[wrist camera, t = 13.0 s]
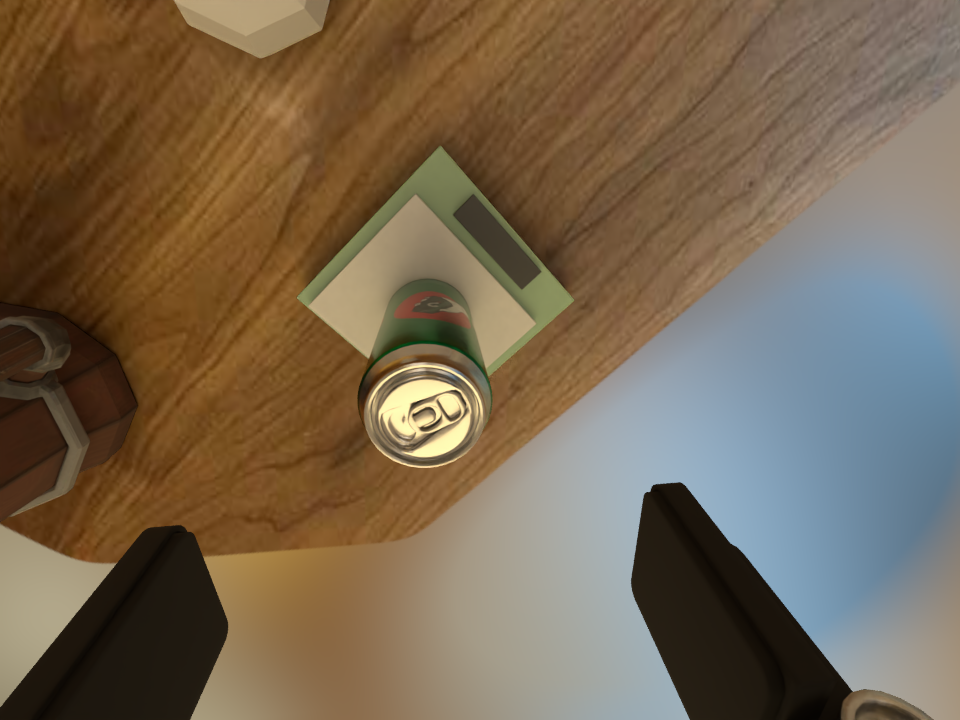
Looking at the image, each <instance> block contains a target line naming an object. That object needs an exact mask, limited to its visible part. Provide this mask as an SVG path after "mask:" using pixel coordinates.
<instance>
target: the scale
mask: <svg viewBox="0 0 960 720" xmlns="http://www.w3.org/2000/svg"><path fill="white" fill-rule="evenodd" d="M427 278H428V279H437V280H441V281H443V282H446V283H448V284H450V285H452V286H453V287H454V288H456V289H457V290H458V291H459V292H460V293H461V294H462V295H463V297H464V298H465V300H466V301H467V304H468V306H469V309H470V312H471V316H472V320H473V323H474V327H475V331H476V334H477V338H478V342H479V345H480V349H481V353H482V356H483V360H484V363H485V367H486V371H487V374H488V377H489V376H490V375H491V374H492V373H493V372H494V371H495V370H497V369H498V368H499V367H500V366H501V365H502V364H503V363H504V362H506V361H507V360H508V359H509V358H510V357H511V356H512V355H513V354H515V353H516V352H517V351H518V350H519V349H520V348H521V347H522V346H524V345H525V344H526V343H527V342H528V341H529V340H530V339H532V338H533V337H534V336H535V335H536V334H537V333H538V332H539V331H541V330H542V329H543V328H544V327H545V326H546V325H547V324H548V323H550V322H551V321H552V320H553V319H554V318H555V317H556V316H557V315H559V314H560V313H561V312H562V311H563V310H564V309H565V308H567V307H568V306H569V305H570V304H571V303H572V302H573V301H574V299H573V298H572V296H571V295H570V294H569V293H568V292H567V291H566V289H565V288H564V287H563V286H562V285H561V284H560V283H559V281H558V280H557V279H556V278H555V277H554V276H553V275H552V273H551V272H550V271H549V270H548V269H547V268H546V266H545V265H544V264H543V263H542V262H541V261H540V260H539V258H538V257H537V256H536V255H535V254H534V253H533V251H532V250H531V249H530V248H529V247H528V246H527V245H526V243H525V242H524V241H523V240H522V239H521V238H520V236H519V235H518V234H517V233H516V232H515V231H514V230H513V228H512V227H511V226H510V225H509V224H508V223H507V221H506V220H505V219H504V218H503V217H502V216H501V215H500V213H499V212H498V211H497V210H496V209H495V208H494V206H493V205H492V204H491V203H490V202H489V201H488V200H487V198H486V197H485V196H484V195H483V194H482V193H481V191H480V190H479V189H478V188H477V187H476V186H475V185H474V183H473V182H472V181H471V180H470V179H469V178H468V176H467V175H466V174H465V173H464V172H463V171H462V170H461V168H460V167H459V166H458V165H457V164H456V163H455V161H454V160H453V159H452V158H451V157H450V156H449V155H448V153H447V152H446V151H445V150H444V149H443V148H442V146H439V147H438V148H437V149H436V150H435V151H434V152H433V153H432V154H431V155H430V156H429V157H428V158H427V159H426V161H425V162H424V163H423V164H422V165H421V166H420V167H419V168H418V169H417V170H416V171H415V172H414V173H413V174H412V175H411V176H410V177H409V179H408V180H407V181H406V182H405V183H404V184H403V185H402V186H401V187H400V188H399V189H398V190H397V191H396V192H395V193H394V194H393V195H392V197H391V198H390V199H389V200H388V201H387V202H386V203H385V204H384V205H383V206H382V207H381V208H380V209H379V210H378V211H377V212H376V213H375V214H374V216H373V217H372V218H371V219H370V220H369V221H368V222H367V223H366V224H365V225H364V226H363V227H362V228H361V229H360V230H359V231H358V232H357V234H356V235H355V236H354V237H353V238H352V239H351V240H350V241H349V242H348V243H347V244H346V245H345V246H344V247H343V248H342V249H341V250H340V252H339V253H338V254H337V255H336V256H335V257H334V258H333V259H332V260H331V261H330V262H329V263H328V264H327V265H326V266H325V267H324V268H323V269H322V271H321V272H320V273H319V274H318V275H317V276H316V277H315V278H314V279H313V280H312V281H311V282H310V283H309V284H308V285H307V286H306V287H305V289H304V290H303V291H302V292H301V293H300V294H299V295H298V296H297V299H298V300H300V301H301V302H302V303H303V304H304V305H305V306H307V307H308V308H309V309H310V310H311V311H312V312H314V313H315V314H316V315H317V316H318V317H320V318H321V319H322V320H323V321H324V322H325V323H327V324H328V325H329V326H330V327H331V328H332V329H334V330H335V331H336V332H337V333H338V334H340V335H341V336H342V337H343V338H344V339H345V340H347V341H348V342H349V343H350V344H351V345H352V346H354V347H355V348H356V349H357V350H358V351H360V352H361V353H362V354H363V355H364V356H365V357H367V358H368V359H369V357H370V354H371V351H372V348H373V346H374V343H375V340H376V337H377V334H378V331H379V328H380V326H381V323H382V320H383V317H384V314H385V311H386V308H387V306H388V303H389V301H390V299H391V297H392V296H393V295H394V294H395V292H396V291H397V290H398V289H400V288H401V287H402V286H404V285H405V284H407V283H409V282H412V281H414V280H418V279H427Z"/></svg>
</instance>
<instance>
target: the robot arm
mask: <svg viewBox="0 0 960 720" xmlns="http://www.w3.org/2000/svg"><path fill="white" fill-rule="evenodd" d="M631 586H632V592H633V595H634V598H635V600H636V602H637V605H638V607H639V609H640V611H641V614H642V615H643V618H644V620H645V622H646V625H647V627H648V629H649V631H650V633H651V636H652V638H653V640H654V642H655V644H656V646H657V648H658V651H659V653H660V655H661V657H662V660H663V662H664V664H665V666H666V668H667V671H668V673H669V675H670V677H671V679H672V682H673V684H674V686H675V688H676V690H677V692H678V695H679V697H680V699H681V701H682V703H683V705H684V708H685V710H686V712H687V714H688V716H689V719H690V720H933V719H932V718H931V717H930V716H928V715H927V714H926V713H924V712H923V711H922V710H920V709H919V708H917V707H915V706H913V705H911V704H910V703H908V702H906V701H904V700H902V699H901V698H898V697H896V696H893V695H890V694H887V693H884V692H882V691H875V690H867V689H863V690H859V691H855V692H853V691H852V690H851V689H850V688H849V686H848V685H847V684H846V683H845V681H844V680H843V679H842V678H841V676H840V675H839V674H838V672H837V671H836V670H835V669H834V667H833V666H832V665H831V664H830V663H829V661H828V660H827V659H826V657H825V656H824V655H823V654H822V652H821V651H820V650H819V648H818V647H817V646H816V645H815V644H814V642H813V641H812V640H811V639H810V637H809V636H808V635H807V633H806V632H805V631H804V630H803V628H802V627H801V626H800V624H799V623H798V622H797V621H796V619H795V618H794V617H793V616H792V614H791V613H790V612H789V611H788V609H787V608H786V607H785V606H784V604H783V603H782V602H781V600H780V599H779V598H778V597H777V595H776V594H775V593H774V592H773V590H772V589H771V588H770V587H769V585H768V584H767V583H766V582H765V580H764V579H763V578H762V576H761V575H760V574H759V573H758V571H757V570H756V569H755V568H754V566H753V565H752V564H751V563H750V561H749V560H748V559H747V558H746V556H745V555H744V554H743V553H742V552H741V551H740V550H739V549H738V548H737V547H736V546H734V545H732V544H730V542H729V541H728V540H727V539H726V537H725V536H724V535H723V534H722V532H721V531H720V530H719V528H718V527H717V526H716V525H715V523H714V522H713V521H712V519H711V518H710V517H709V515H708V514H707V513H706V512H705V510H704V509H703V508H702V507H701V505H700V504H699V503H698V501H697V500H696V499H695V497H694V496H693V495H692V494H691V492H690V491H689V490H688V489H687V488H686V486H685V485H683V484H682V483H680V482H679V483H667V484H656V485H653V486H652V488H651V491H650V492H646V493H645V494H644V498H643V504H642V511H641V518H640V524H639V532H638V538H637V545H636V552H635V558H634V565H633V571H632V578H631ZM227 633H228V621H227V618H226V615H225V613H224V610H223V607H222V605H221V602H220V600H219V597H218V595H217V592H216V589H215V587H214V584H213V582H212V579H211V576H210V574H209V571H208V569H207V566H206V564H205V561H204V558H203V556H202V553H201V551H200V548H199V545H198V543H197V540H196V538H195V536H194V534H193V533H192V532H187V530H186V529H185V527H183V526H182V525H176V526H164V527H153V528H148V529H146V530H145V531H144V532H142V533H141V534H140V536H139V537H138V538H137V539H136V541H135V542H134V543H133V544H132V546H131V547H130V548H129V549H128V550H127V552H126V553H125V554H124V555H123V557H122V558H121V559H120V560H119V562H118V563H117V564H116V565H115V567H114V568H113V569H112V570H111V572H110V573H109V574H108V575H107V576H106V578H105V579H104V580H103V581H102V583H101V584H100V585H99V586H98V587H97V589H96V590H95V591H94V592H93V594H92V595H91V596H90V597H89V599H88V600H87V601H86V602H85V604H84V605H83V606H82V607H81V609H80V610H79V611H78V612H77V613H76V615H75V616H74V617H73V618H72V620H71V621H70V622H69V623H68V625H67V626H66V627H65V628H64V630H63V631H62V632H61V633H60V634H59V636H58V637H57V638H56V639H55V641H54V642H53V643H52V644H51V645H50V647H49V648H48V649H47V650H46V652H45V653H44V654H43V655H42V657H41V658H40V659H39V660H38V662H37V663H36V664H35V665H34V666H33V668H32V669H31V670H30V671H29V673H28V674H27V675H26V676H25V678H24V679H23V680H22V681H21V683H20V684H19V685H18V686H17V688H16V689H15V690H14V691H13V692H12V694H11V695H10V696H9V697H8V699H7V700H6V701H5V702H4V704H3V705H2V706H1V707H0V720H190V719H191V716H192V714H193V712H194V710H195V707H196V705H197V703H198V701H199V699H200V696H201V694H202V692H203V690H204V687H205V685H206V683H207V681H208V679H209V676H210V674H211V672H212V670H213V667H214V665H215V663H216V661H217V658H218V656H219V654H220V652H221V650H222V647H223V645H224V643H225V640H226V637H227Z"/></svg>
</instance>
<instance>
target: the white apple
mask: <svg viewBox="0 0 960 720" xmlns="http://www.w3.org/2000/svg"><path fill="white" fill-rule="evenodd" d="M174 1H175V3H176V5H177V6H178V8H179V10H180V12H181V13H182V15H183V17H184V19H185V20H186V22H187V24H188V25H190V26H192V27H194V28H197V29H199V30H201V31H203V32H205V33H207V34H209V35H211V36H214V37H216V38H218V39H220V40H222V41H224V42H226V43H228V44H230V45H233V46H235V47H237V48H239V49H241V50H243V51H245V52H247V53H250V54H252V55H254V56H256V57H258V58H260V59H261V58H264V57H267V56H270V55H273V54H275V53H277V52H279V51H281V50H283V49H285V48H287V47H289V46H291V45H293V44H295V43H297V42H299V41H301V40H303V39H305V38H307V37H309V36H311V35H313V34H315V33H317V32H319V31H321V30H322V28H323V24H324V20H325V16H326V13H327V9H328V5H329V1H330V0H174Z"/></svg>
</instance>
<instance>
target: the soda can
mask: <svg viewBox="0 0 960 720" xmlns="http://www.w3.org/2000/svg"><path fill="white" fill-rule="evenodd" d="M358 410H359V415H360V418H361V420H362V423H363V425H364V426H365V428H366V430H367V433H368V435H369V437H370V439H371V440H372V442H373V444H374V445H375V446H376V447H377V448H378V449H379V450H380V451H381V452H382V453H383V454H384V455H385V456H387V457H389V458H390V459H392V460H394V461H396V462H398V463H401V464H404V465H407V466H412V467H419V468H429V467H437V466H441V465H445V464H448V463H450V462H453V461H455V460H457V459H458V458H460V457H462V456H463V455H464V454H466V453H467V452H468V451H469V450H470V449H471V448H472V447H473V446H474V445H475V443H476V442H477V441H478V439H479V437H480V435H481V433H482V431H483V429H484V428H485V426H486V424H487V422H488V420H489V417H490V414H491V410H492V390H491V386H490V382H489V378H488V374H487V371H486V367H485V363H484V360H483V356H482V353H481V349H480V345H479V342H478V338H477V334H476V331H475V327H474V323H473V320H472V316H471V312H470V309H469V306H468V304H467V301H466V300H465V298H464V297H463V295H462V294H461V293H460V292H459V291H458V290H457V289H456V288H454V287H453V286H452V285H450V284H448V283H446V282H443V281H441V280H437V279H428V278H427V279H418V280H414V281H412V282H409V283H407V284H405V285H404V286H402V287H401V288H400V289H398V290H397V291H396V292H395V294H394V295H393V296H392V297H391V299H390V301H389V303H388V306H387V308H386V311H385V314H384V317H383V320H382V323H381V326H380V328H379V331H378V334H377V337H376V340H375V343H374V346H373V348H372V351H371V354H370V357H369V360H368V363H367V366H366V369H365V371H364V374H363V377H362V380H361V383H360V386H359V391H358Z"/></svg>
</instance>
